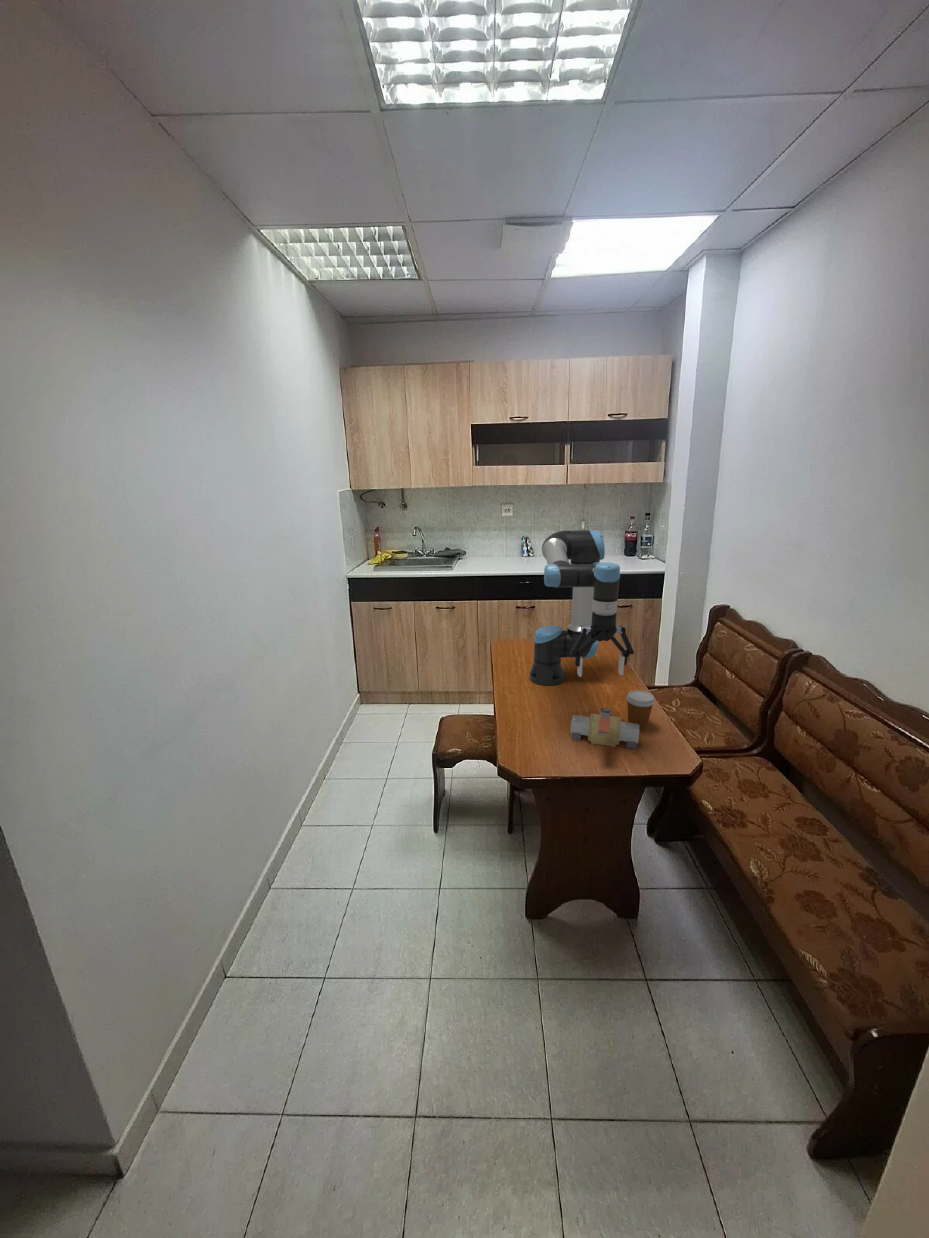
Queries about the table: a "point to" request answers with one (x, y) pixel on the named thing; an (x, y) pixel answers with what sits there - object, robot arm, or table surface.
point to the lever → (604, 722)
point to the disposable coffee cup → (639, 707)
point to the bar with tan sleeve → (616, 730)
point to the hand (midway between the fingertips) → (600, 674)
